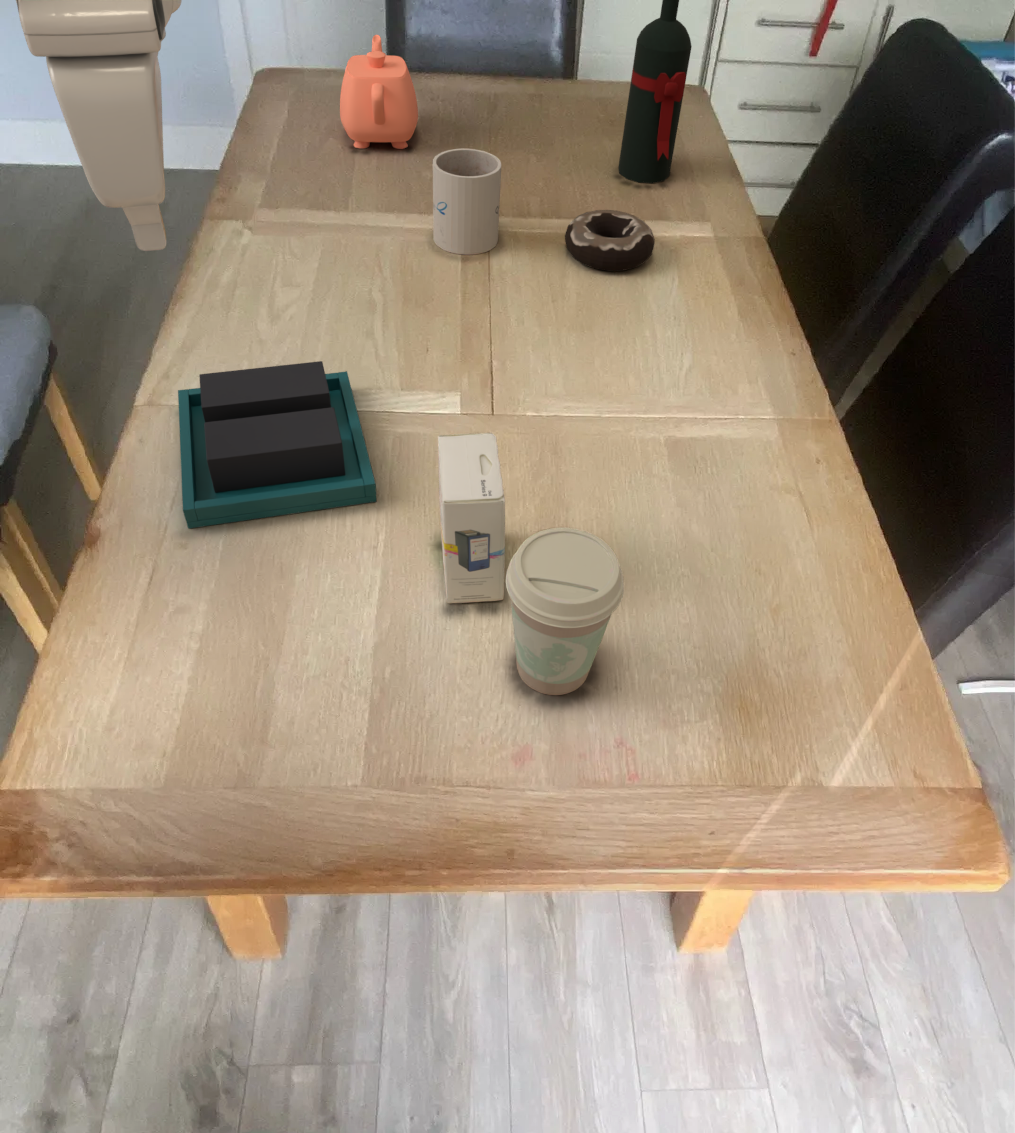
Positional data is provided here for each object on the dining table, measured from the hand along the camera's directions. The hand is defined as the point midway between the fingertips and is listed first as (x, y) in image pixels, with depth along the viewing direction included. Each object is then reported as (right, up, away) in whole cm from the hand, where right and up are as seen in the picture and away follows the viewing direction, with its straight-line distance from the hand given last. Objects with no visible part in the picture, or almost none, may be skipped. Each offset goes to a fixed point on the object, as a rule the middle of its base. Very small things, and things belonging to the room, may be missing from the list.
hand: (152, 211), depth 60 cm
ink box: (+20, -24, +19) cm, 37 cm away
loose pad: (+2, -14, +26) cm, 29 cm away
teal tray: (+1, -13, +28) cm, 31 cm away
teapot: (+4, +44, +81) cm, 92 cm away
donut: (+37, +17, +59) cm, 72 cm away
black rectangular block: (0, -9, +31) cm, 32 cm away
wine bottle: (+45, +35, +76) cm, 95 cm away
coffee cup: (+27, -32, +12) cm, 44 cm away
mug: (+18, +21, +61) cm, 67 cm away
